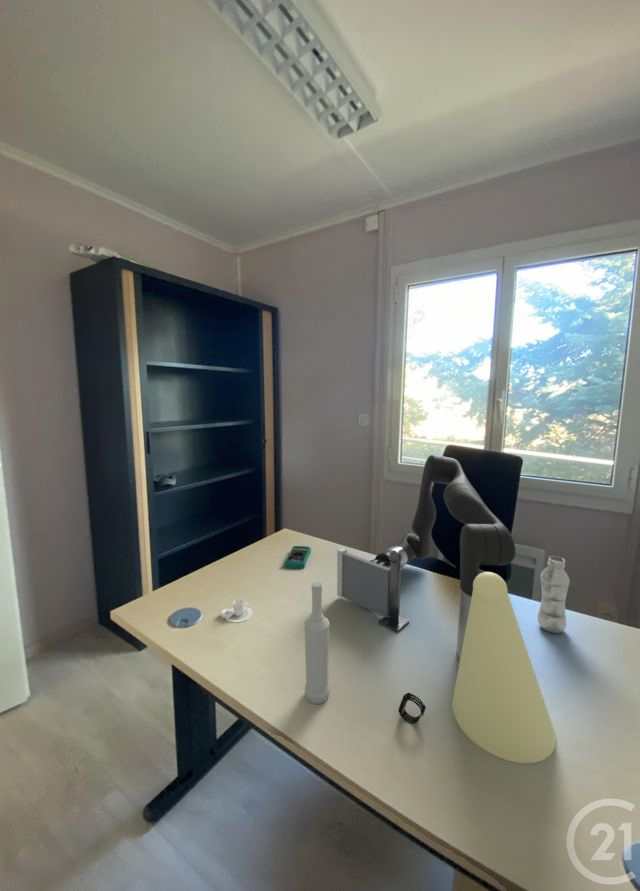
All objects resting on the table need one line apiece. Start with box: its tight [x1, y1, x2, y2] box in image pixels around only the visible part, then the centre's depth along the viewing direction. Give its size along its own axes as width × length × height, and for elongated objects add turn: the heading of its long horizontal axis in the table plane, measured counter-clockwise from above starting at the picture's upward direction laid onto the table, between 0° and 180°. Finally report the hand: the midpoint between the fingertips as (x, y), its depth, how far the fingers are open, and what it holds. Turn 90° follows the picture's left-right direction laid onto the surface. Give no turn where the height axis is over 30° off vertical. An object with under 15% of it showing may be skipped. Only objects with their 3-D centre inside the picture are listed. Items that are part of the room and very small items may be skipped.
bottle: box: [304, 581, 330, 705], centre depth 77 cm, size 5×5×25 cm
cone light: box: [451, 571, 557, 764], centre depth 68 cm, size 25×18×35 cm
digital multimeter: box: [284, 545, 312, 570], centre depth 143 cm, size 8×15×3 cm, turn 172°
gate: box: [336, 547, 390, 618], centre depth 109 cm, size 18×2×15 cm, turn 47°
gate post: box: [378, 550, 410, 634], centre depth 101 cm, size 6×6×21 cm
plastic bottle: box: [537, 555, 571, 634], centre depth 99 cm, size 6×7×20 cm
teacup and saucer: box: [219, 599, 253, 624], centre depth 107 cm, size 9×8×4 cm
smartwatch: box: [398, 692, 426, 725], centre depth 72 cm, size 4×5×5 cm
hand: (360, 578), depth 112 cm, fingers closed
